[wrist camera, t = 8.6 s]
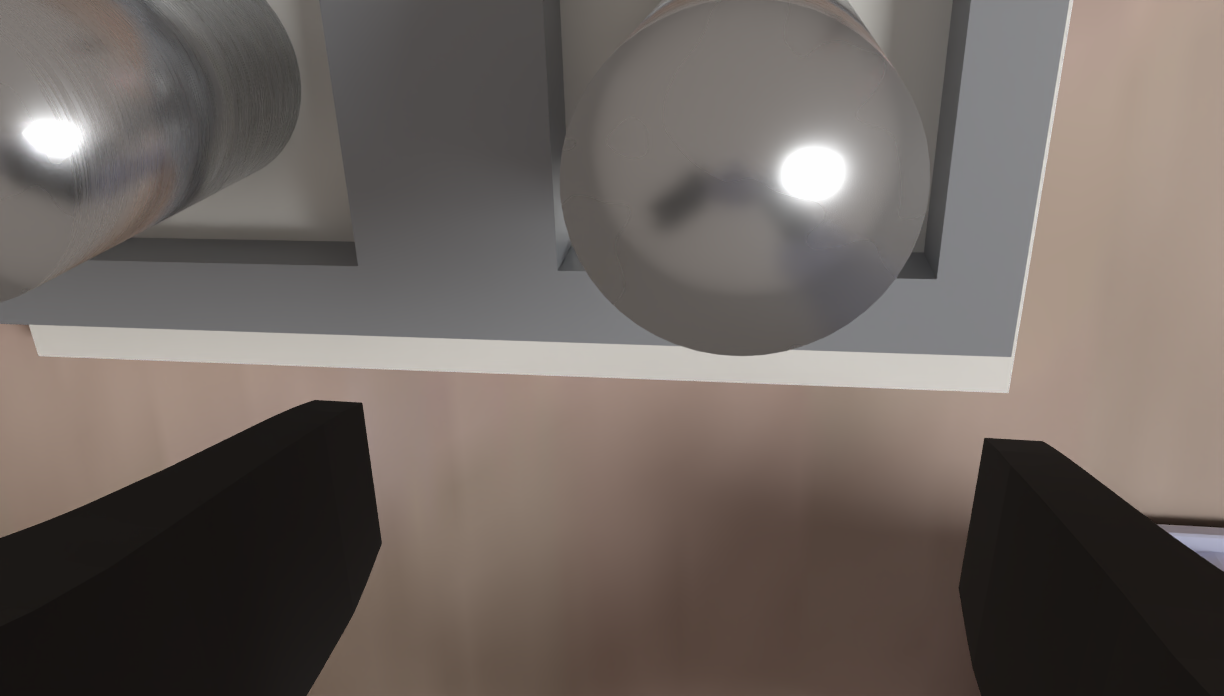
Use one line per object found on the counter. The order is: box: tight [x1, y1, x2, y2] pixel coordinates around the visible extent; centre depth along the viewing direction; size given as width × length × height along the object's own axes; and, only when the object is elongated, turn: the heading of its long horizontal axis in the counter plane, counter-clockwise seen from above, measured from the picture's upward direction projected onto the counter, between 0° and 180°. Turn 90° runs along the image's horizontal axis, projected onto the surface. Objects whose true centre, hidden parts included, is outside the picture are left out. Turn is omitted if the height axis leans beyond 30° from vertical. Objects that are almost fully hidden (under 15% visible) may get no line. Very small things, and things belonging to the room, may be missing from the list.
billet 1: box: [0, 0, 301, 302], centre depth 16 cm, size 4×4×7 cm
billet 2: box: [560, 0, 930, 356], centre depth 15 cm, size 4×4×7 cm
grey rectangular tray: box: [0, 0, 1073, 393], centre depth 18 cm, size 22×13×2 cm, turn 92°
